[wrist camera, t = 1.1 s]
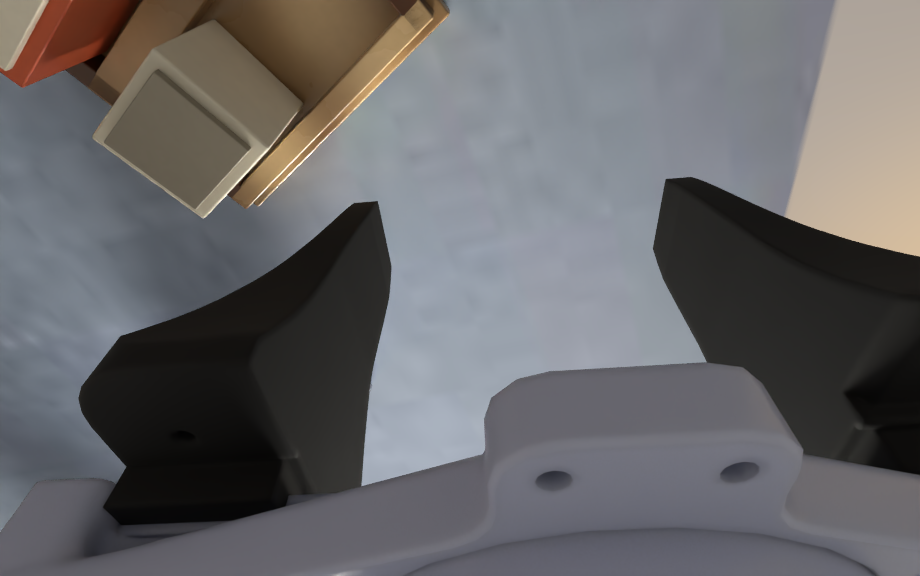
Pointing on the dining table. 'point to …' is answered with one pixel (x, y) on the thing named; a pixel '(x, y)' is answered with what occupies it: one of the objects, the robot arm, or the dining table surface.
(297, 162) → the divided wooden tray
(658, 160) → the dining table surface
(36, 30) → the red block with panel
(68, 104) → the dining table surface
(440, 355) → the dining table surface
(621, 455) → the robot arm
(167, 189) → the cream panelled block
